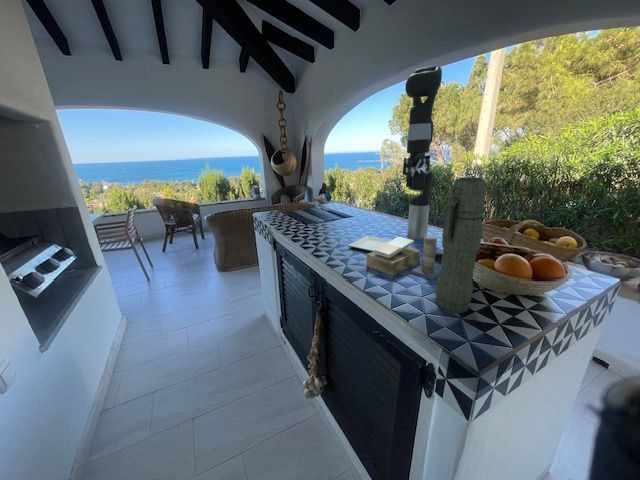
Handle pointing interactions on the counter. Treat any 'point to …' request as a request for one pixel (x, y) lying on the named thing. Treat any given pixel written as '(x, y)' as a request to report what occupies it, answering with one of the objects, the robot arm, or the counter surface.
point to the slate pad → (426, 275)
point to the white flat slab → (393, 247)
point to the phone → (438, 258)
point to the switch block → (394, 261)
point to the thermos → (460, 244)
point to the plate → (369, 243)
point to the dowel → (429, 254)
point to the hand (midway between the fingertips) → (415, 185)
